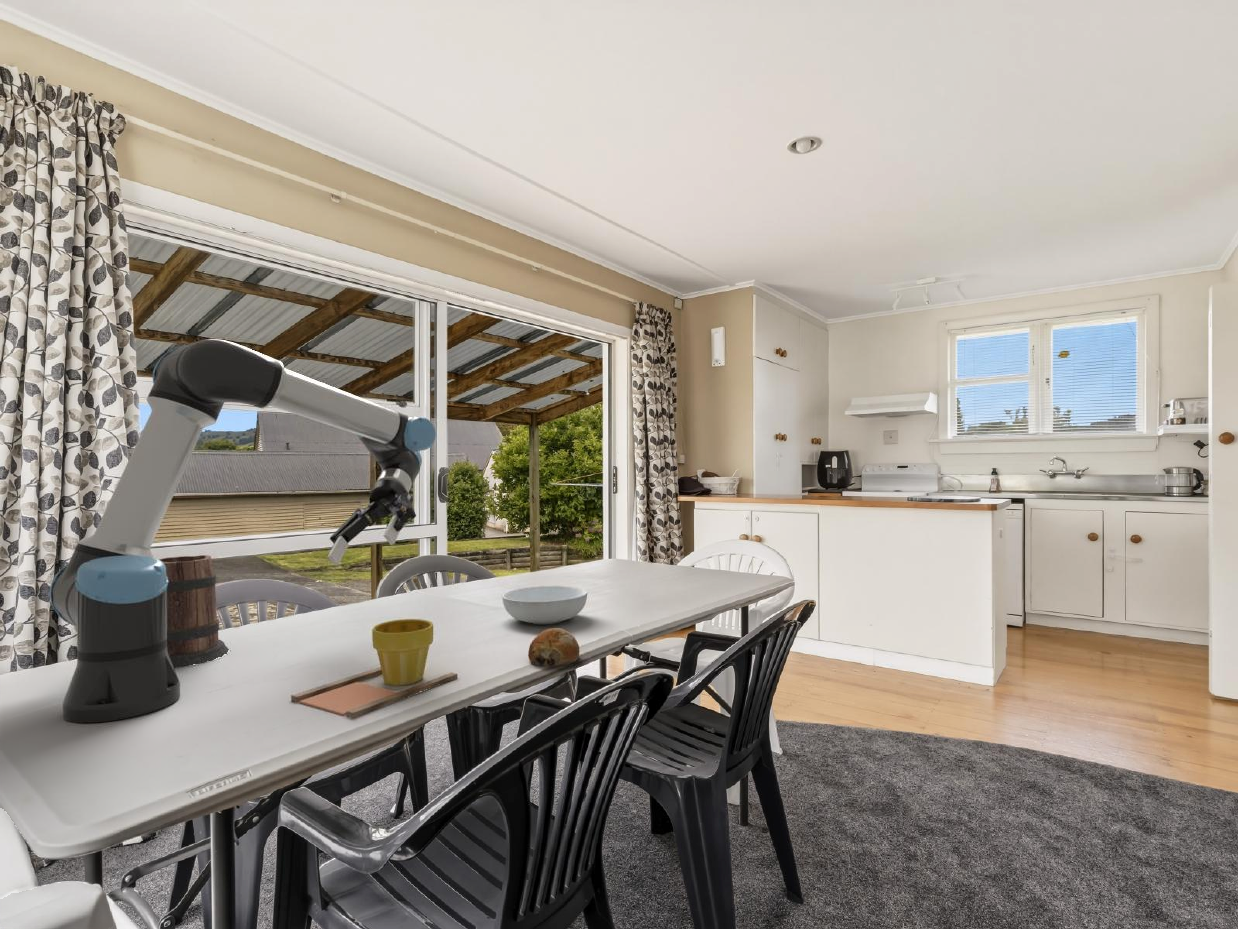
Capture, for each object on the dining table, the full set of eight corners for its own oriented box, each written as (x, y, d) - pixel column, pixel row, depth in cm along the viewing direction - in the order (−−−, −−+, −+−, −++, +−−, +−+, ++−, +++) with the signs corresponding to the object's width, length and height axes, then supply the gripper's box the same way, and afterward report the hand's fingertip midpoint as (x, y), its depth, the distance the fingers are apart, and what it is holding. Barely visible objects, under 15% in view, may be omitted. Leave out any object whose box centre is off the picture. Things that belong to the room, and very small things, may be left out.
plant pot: (407, 692, 113) (406, 634, 113) (359, 685, 117) (359, 629, 117) (445, 674, 123) (445, 621, 123) (400, 668, 127) (400, 616, 127)
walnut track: (353, 718, 102) (352, 713, 102) (291, 700, 110) (291, 695, 110) (457, 678, 121) (457, 673, 121) (398, 665, 129) (398, 661, 129)
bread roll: (583, 680, 131) (595, 639, 133) (547, 668, 124) (560, 625, 126) (549, 669, 137) (562, 631, 140) (513, 658, 131) (527, 617, 133)
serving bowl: (542, 608, 180) (541, 582, 180) (604, 617, 168) (604, 590, 168) (484, 623, 163) (484, 595, 163) (548, 635, 151) (548, 604, 151)
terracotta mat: (343, 715, 103) (343, 713, 103) (299, 702, 108) (299, 701, 108) (400, 694, 112) (400, 692, 112) (357, 683, 118) (357, 681, 118)
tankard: (242, 655, 136) (242, 557, 136) (143, 675, 124) (142, 567, 124) (205, 636, 152) (205, 548, 152) (114, 652, 139) (113, 555, 139)
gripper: (445, 486, 153) (422, 544, 135) (355, 521, 159) (321, 581, 141) (428, 460, 150) (402, 517, 132) (335, 497, 155) (298, 556, 137)
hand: (360, 550), depth 136 cm, fingers open, 13 cm apart
